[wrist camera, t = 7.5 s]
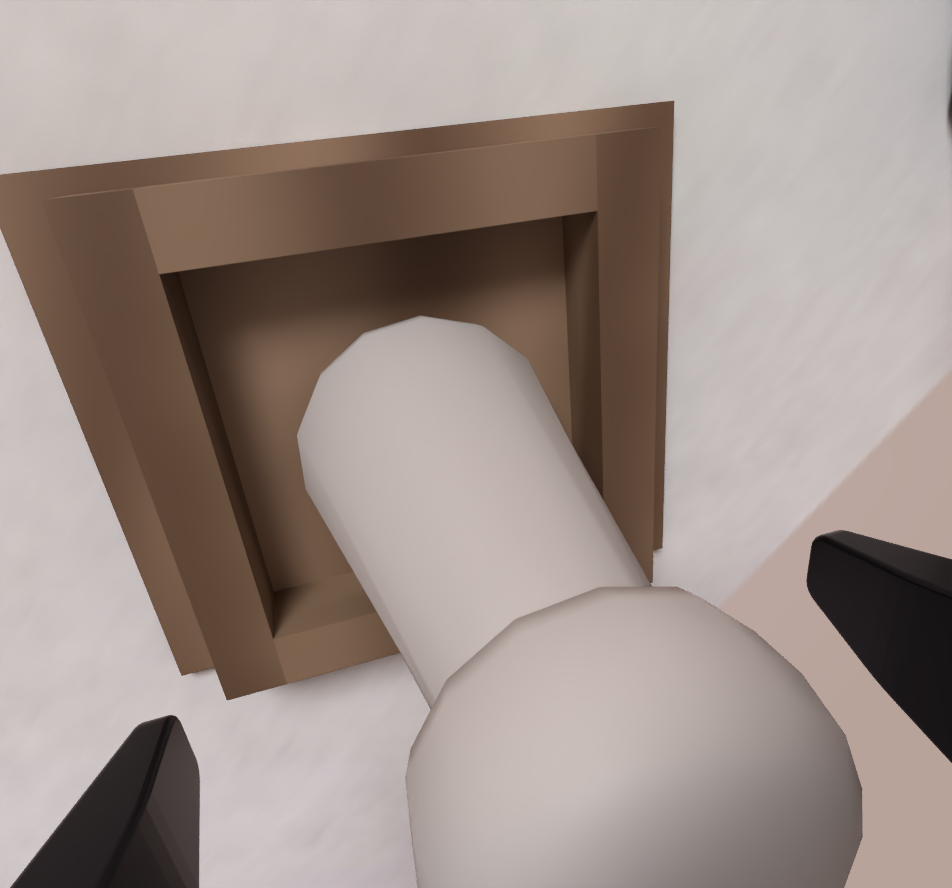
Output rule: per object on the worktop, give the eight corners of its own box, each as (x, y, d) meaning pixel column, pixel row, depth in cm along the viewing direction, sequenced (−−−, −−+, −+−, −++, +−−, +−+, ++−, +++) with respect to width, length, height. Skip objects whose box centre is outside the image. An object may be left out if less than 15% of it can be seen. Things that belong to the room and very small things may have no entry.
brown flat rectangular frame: (665, 102, 16) (725, 93, 14) (656, 541, 21) (697, 583, 19) (-12, 176, 13) (-70, 179, 11) (183, 665, 18) (170, 732, 16)
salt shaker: (463, 528, 19) (758, 1120, 7) (265, 476, 16) (231, 1218, 5) (551, 343, 17) (1107, 720, 6) (345, 257, 15) (572, 593, 3)
